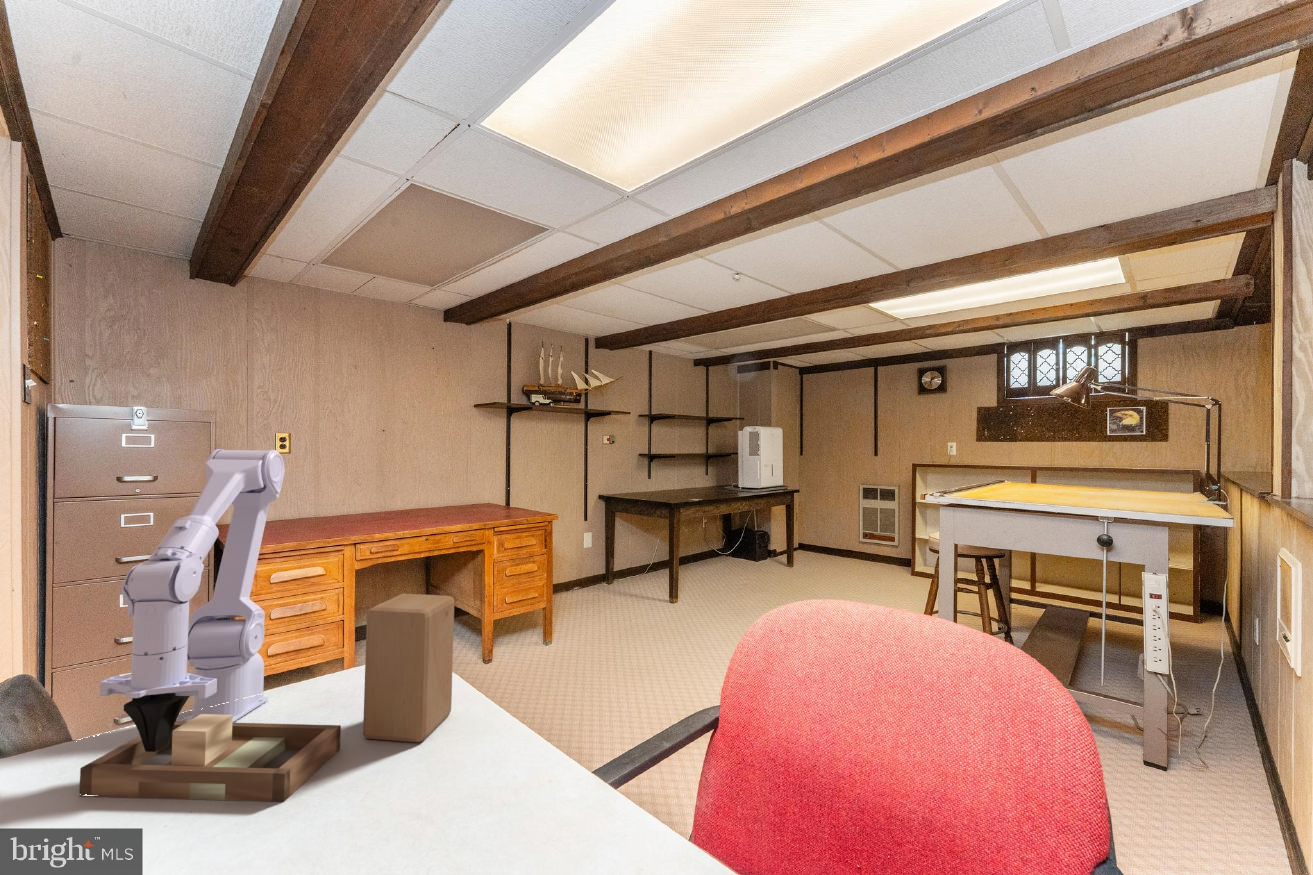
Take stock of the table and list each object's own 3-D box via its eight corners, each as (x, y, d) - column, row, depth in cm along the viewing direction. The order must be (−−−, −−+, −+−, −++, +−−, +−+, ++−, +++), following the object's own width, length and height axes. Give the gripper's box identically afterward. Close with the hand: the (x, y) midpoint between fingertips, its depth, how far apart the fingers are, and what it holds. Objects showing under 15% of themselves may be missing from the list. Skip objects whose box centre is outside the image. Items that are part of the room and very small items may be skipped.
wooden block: (453, 713, 92) (456, 594, 93) (422, 745, 82) (426, 611, 83) (397, 709, 93) (400, 591, 94) (359, 740, 83) (364, 608, 84)
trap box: (165, 744, 81) (166, 720, 81) (340, 749, 81) (340, 725, 81) (79, 796, 69) (80, 768, 69) (283, 801, 69) (284, 773, 69)
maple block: (199, 746, 77) (201, 714, 77) (231, 747, 77) (232, 714, 77) (171, 764, 73) (172, 730, 73) (204, 765, 73) (206, 731, 73)
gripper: (77, 657, 71) (73, 762, 71) (187, 660, 71) (183, 766, 71) (130, 638, 78) (126, 734, 78) (230, 641, 78) (226, 737, 78)
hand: (156, 747), depth 75 cm, fingers closed
